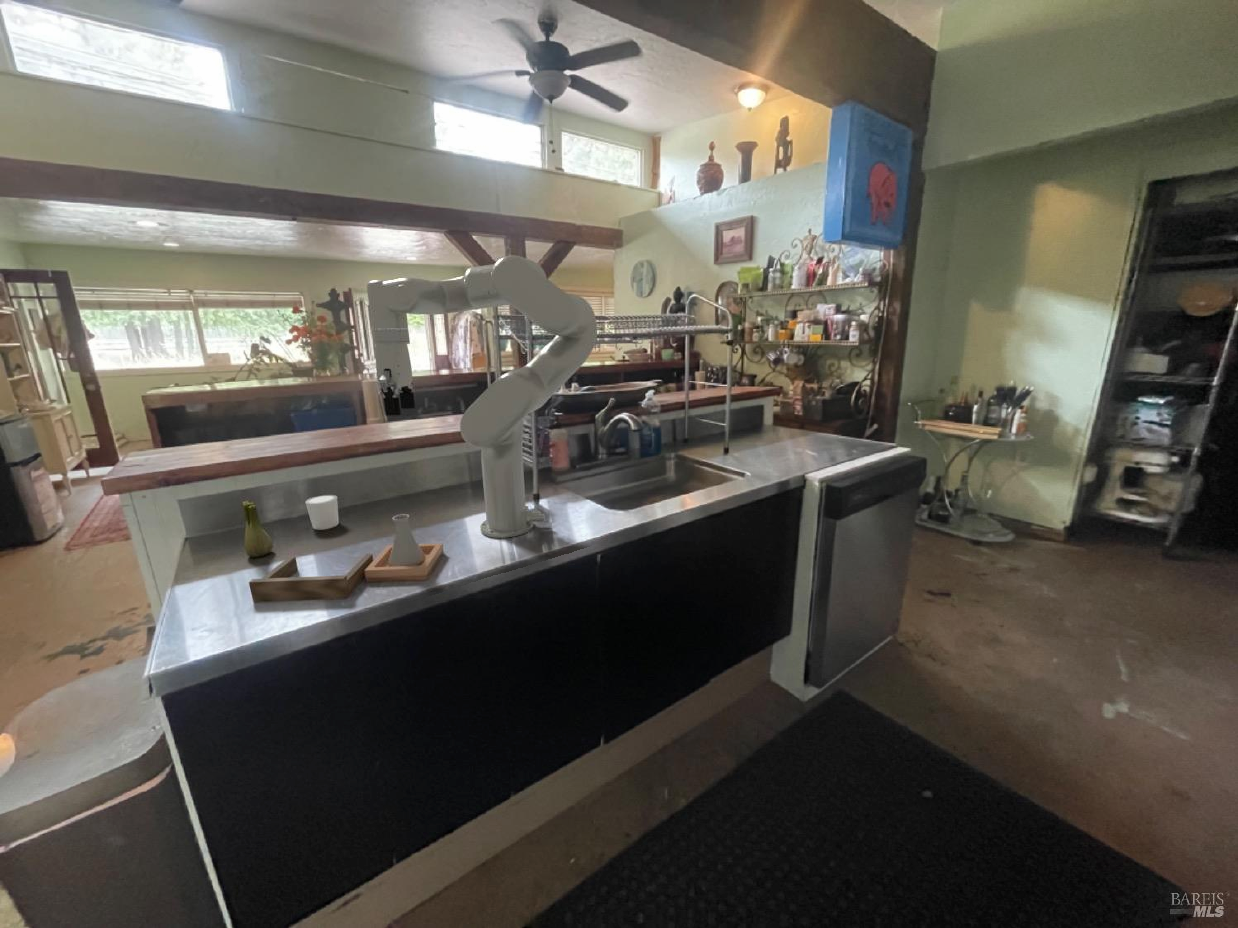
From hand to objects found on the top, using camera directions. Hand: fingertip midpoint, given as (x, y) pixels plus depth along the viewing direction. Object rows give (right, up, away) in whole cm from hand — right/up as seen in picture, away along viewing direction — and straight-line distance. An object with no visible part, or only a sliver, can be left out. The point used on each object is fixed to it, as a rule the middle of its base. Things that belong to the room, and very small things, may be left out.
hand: (401, 411), depth 118 cm
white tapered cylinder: (-22, -28, +6) cm, 36 cm away
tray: (+8, -34, -16) cm, 38 cm away
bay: (-6, -36, -23) cm, 43 cm away
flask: (+8, -33, -16) cm, 38 cm away
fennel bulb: (-27, -32, -9) cm, 43 cm away
